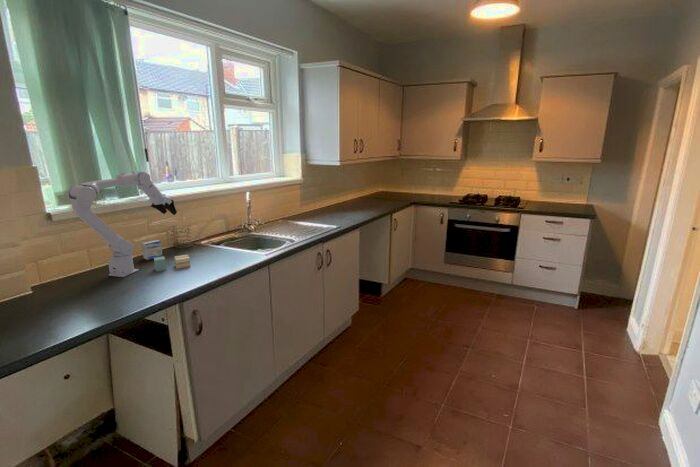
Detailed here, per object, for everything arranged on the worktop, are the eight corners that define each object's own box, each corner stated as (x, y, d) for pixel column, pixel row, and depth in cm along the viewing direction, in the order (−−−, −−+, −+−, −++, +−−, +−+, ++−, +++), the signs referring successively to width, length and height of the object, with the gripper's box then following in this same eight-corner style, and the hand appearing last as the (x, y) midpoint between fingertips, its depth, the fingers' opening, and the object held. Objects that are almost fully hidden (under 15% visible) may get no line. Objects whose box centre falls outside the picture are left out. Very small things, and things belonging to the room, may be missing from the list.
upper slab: (190, 262, 179) (189, 257, 179) (176, 264, 176) (175, 259, 176) (188, 259, 184) (187, 254, 184) (174, 261, 181) (174, 256, 181)
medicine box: (147, 260, 189) (145, 244, 187) (143, 258, 192) (141, 242, 190) (162, 256, 195) (160, 240, 193) (158, 255, 198) (156, 239, 196)
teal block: (166, 269, 176) (165, 258, 174) (156, 271, 174) (154, 260, 172) (165, 267, 180) (164, 256, 178) (155, 268, 177) (153, 257, 176)
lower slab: (190, 267, 180) (189, 262, 180) (177, 269, 177) (176, 264, 177) (188, 264, 185) (187, 259, 185) (175, 266, 182) (174, 261, 181)
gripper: (168, 187, 177) (185, 208, 186) (149, 186, 184) (166, 206, 193) (158, 197, 173) (175, 218, 182) (139, 196, 180) (157, 216, 189)
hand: (170, 213), depth 187 cm, fingers open, 7 cm apart
